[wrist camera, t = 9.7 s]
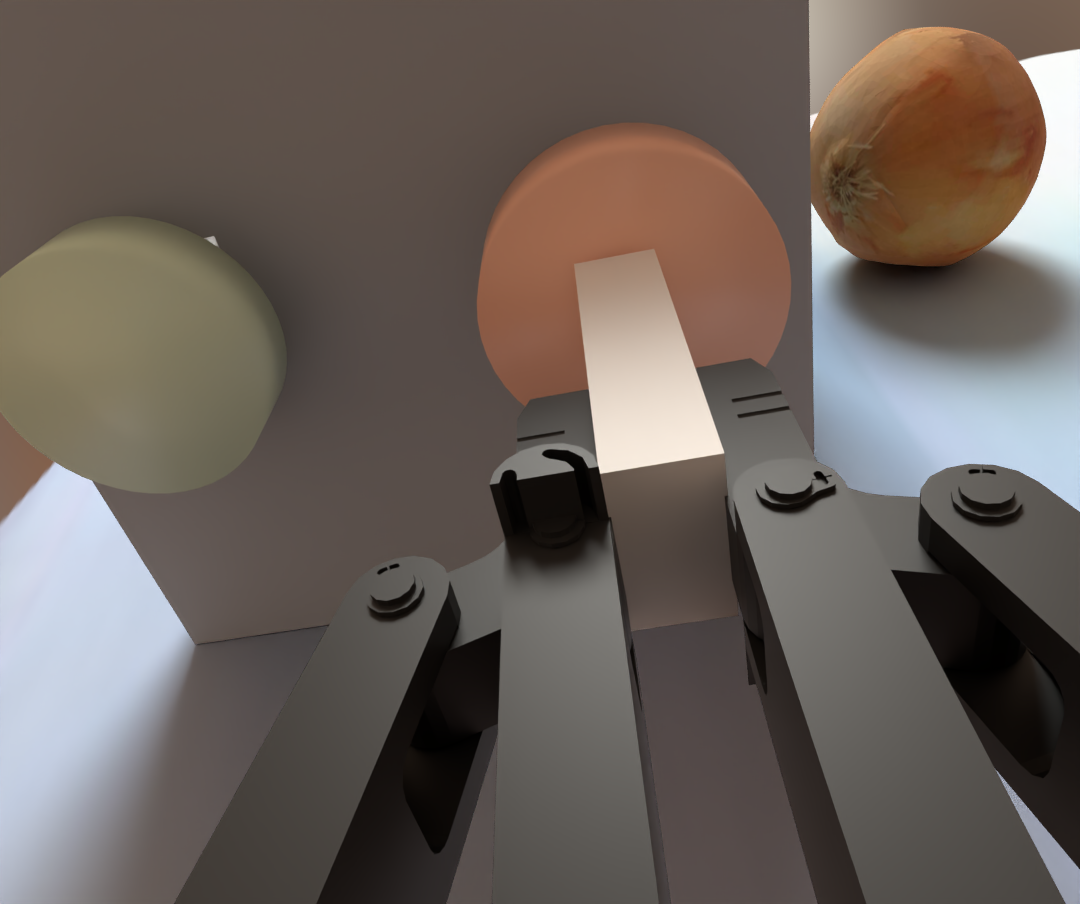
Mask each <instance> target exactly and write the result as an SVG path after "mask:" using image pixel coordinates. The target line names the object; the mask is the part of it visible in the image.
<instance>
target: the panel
mask: <svg viewBox="0 0 1080 904" xmlns="http://www.w3.org/2000/svg"><path fill="white" fill-rule="evenodd" d="M809 78H810V77H809V0H0V278H1V277H2V276H3V275H4V274H5V273H6V272H8V271H9V270H10V269H12V268H13V267H14V266H16V265H17V264H18V263H20V262H21V261H22V260H24V259H25V258H26V257H28V256H29V255H31V254H32V253H33V252H35V251H36V250H37V249H39V248H40V247H41V246H43V245H44V244H45V243H47V242H48V241H49V240H51V239H52V238H54V237H55V236H56V235H58V234H59V233H61V232H62V231H64V230H65V229H68V228H70V227H72V226H74V225H76V224H78V223H81V222H85V221H88V220H92V219H96V218H103V217H110V216H133V217H141V218H149V219H153V220H158V221H162V222H166V223H169V224H172V225H175V226H178V227H180V228H183V229H186V230H188V231H190V232H192V233H194V234H196V235H198V236H200V237H202V238H207V237H212V236H214V237H215V239H216V241H217V244H218V246H219V248H220V249H222V250H223V251H224V252H225V253H227V254H228V255H229V256H230V257H232V258H233V259H234V260H236V261H237V262H238V263H239V264H240V265H241V266H242V267H243V268H244V269H245V270H246V271H247V272H248V273H249V274H250V275H251V276H252V278H253V279H254V280H255V281H256V282H257V284H258V285H259V286H260V287H261V289H262V290H263V292H264V293H265V295H266V296H267V298H268V299H269V301H270V302H271V304H272V306H273V308H274V310H275V312H276V315H277V317H278V319H279V322H280V325H281V328H282V331H283V334H284V339H285V344H286V351H287V368H286V377H285V380H284V384H283V388H282V391H281V393H280V395H279V397H278V399H277V401H276V403H275V405H274V407H273V409H272V411H271V413H270V415H269V418H268V420H267V422H266V424H265V426H264V428H263V430H262V432H261V434H260V436H259V438H258V440H257V442H256V444H255V446H254V447H253V449H252V450H251V452H250V453H249V455H248V456H247V458H246V459H245V460H244V461H243V462H242V463H241V464H240V465H239V466H238V467H237V468H236V469H234V470H233V471H232V472H230V473H229V474H228V475H226V476H225V477H223V478H221V479H219V480H217V481H216V482H214V483H211V484H209V485H206V486H203V487H201V488H197V489H193V490H189V491H184V492H176V493H141V492H132V491H127V490H122V489H117V488H114V487H110V486H107V485H103V484H100V483H97V482H95V481H93V483H94V484H95V486H96V487H97V489H98V491H99V492H100V494H101V495H102V497H103V499H104V500H105V502H106V503H107V505H108V507H109V508H110V510H111V511H112V513H113V514H114V516H115V518H116V519H117V521H118V522H119V524H120V526H121V527H122V529H123V530H124V532H125V533H126V535H127V537H128V538H129V540H130V541H131V543H132V545H133V546H134V548H135V549H136V551H137V553H138V554H139V556H140V557H141V559H142V560H143V562H144V564H145V565H146V567H147V568H148V570H149V572H150V573H151V575H152V576H153V578H154V579H155V581H156V583H157V584H158V586H159V587H160V589H161V591H162V592H163V594H164V595H165V597H166V599H167V600H168V602H169V603H170V605H171V606H172V608H173V610H174V611H175V613H176V614H177V616H178V618H179V619H180V621H181V622H182V624H183V626H184V627H185V629H186V630H187V632H188V633H189V635H190V637H191V638H192V640H193V641H194V643H195V644H201V643H208V642H215V641H222V640H229V639H235V638H242V637H249V636H256V635H262V634H269V633H276V632H283V631H290V630H296V629H303V628H310V627H317V626H323V625H329V624H330V622H331V620H332V619H333V617H334V615H335V613H336V611H337V610H338V608H339V606H340V604H341V602H342V601H343V599H344V597H345V595H346V593H347V592H348V591H349V589H350V588H351V587H352V586H353V584H354V583H355V582H356V581H357V579H358V578H359V577H361V576H362V575H364V574H365V573H366V572H368V571H369V570H371V569H372V568H374V567H375V566H377V565H380V564H382V563H385V562H387V561H390V560H392V559H395V558H402V557H409V556H419V557H425V558H430V559H433V560H434V561H436V562H437V563H439V564H440V565H442V566H443V567H444V568H445V570H446V572H447V573H448V572H451V571H453V570H456V569H458V568H461V567H463V566H466V565H468V564H471V563H473V562H475V561H477V560H479V559H481V558H483V557H485V556H487V555H488V554H489V553H491V552H492V551H493V550H495V549H496V548H497V547H499V546H500V544H501V543H502V542H503V541H504V534H503V530H502V527H501V523H500V520H499V516H498V513H497V510H496V506H495V503H494V499H493V496H492V492H491V489H490V486H489V484H490V481H491V479H492V476H493V473H494V471H495V470H496V469H497V468H498V467H499V466H500V465H501V464H502V463H503V462H504V461H505V460H506V459H508V458H509V457H511V456H513V455H515V454H516V453H517V418H518V417H519V415H520V414H521V412H522V411H523V409H524V408H525V406H524V405H523V404H522V403H520V402H519V401H518V400H517V399H516V398H515V397H514V396H513V395H512V394H511V393H510V391H509V390H508V389H507V388H506V387H505V386H504V384H503V383H502V381H501V380H500V378H499V377H498V376H497V374H496V373H495V371H494V369H493V367H492V365H491V363H490V361H489V359H488V357H487V355H486V352H485V349H484V346H483V343H482V340H481V336H480V331H479V325H478V318H477V294H478V284H479V276H480V269H481V262H482V255H483V248H484V242H485V238H486V234H487V230H488V226H489V223H490V221H491V218H492V216H493V213H494V210H495V208H496V206H497V205H498V203H499V201H500V199H501V197H502V195H503V194H504V192H505V191H506V189H507V188H508V187H509V185H510V184H511V183H512V181H513V180H514V178H515V177H516V176H517V175H518V174H519V173H520V172H521V171H522V170H523V169H524V168H525V167H526V166H527V165H528V164H529V163H530V162H531V161H532V160H533V159H535V158H536V157H537V156H538V155H540V154H541V153H542V152H543V151H545V150H546V149H548V148H549V147H551V146H553V145H554V144H556V143H558V142H559V141H561V140H563V139H565V138H567V137H570V136H572V135H574V134H577V133H579V132H581V131H584V130H588V129H591V128H595V127H599V126H602V125H610V124H617V123H649V124H656V125H663V126H667V127H670V128H674V129H677V130H681V131H684V132H686V133H688V134H690V135H693V136H695V137H697V138H699V139H701V140H703V141H704V142H706V143H707V144H709V145H711V146H712V147H714V148H715V149H717V150H718V151H719V152H720V153H721V154H722V155H724V156H725V157H726V158H727V159H728V160H729V161H731V162H732V164H733V165H734V166H735V167H736V168H737V170H738V171H739V172H740V173H741V174H742V175H743V177H744V178H745V180H746V181H747V182H748V184H749V185H750V187H751V188H752V189H753V191H754V192H755V194H756V195H757V197H758V198H759V199H760V201H761V202H762V204H763V205H764V206H765V208H766V209H767V211H768V213H769V214H770V216H771V217H772V219H773V221H774V222H775V224H776V225H777V228H778V230H779V232H780V235H781V237H782V239H783V242H784V244H785V248H786V252H787V256H788V260H789V264H790V274H791V301H790V307H789V312H788V317H787V322H786V325H785V328H784V331H783V334H782V337H781V339H780V341H779V344H778V346H777V348H776V350H775V352H774V354H773V356H772V357H771V359H770V361H769V362H768V364H767V365H766V367H765V368H767V369H769V370H770V371H772V372H773V374H774V376H775V378H776V380H777V382H778V384H779V386H780V388H781V390H782V394H784V396H785V398H786V400H787V402H788V404H789V408H790V410H792V412H793V414H794V416H795V418H796V421H797V423H798V425H799V427H800V429H801V431H802V433H803V435H804V437H805V439H806V441H807V443H808V445H809V447H810V449H811V451H812V453H813V455H814V416H813V331H812V246H811V161H810V84H809V83H810V79H809Z"/></svg>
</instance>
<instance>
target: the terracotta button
mask: <svg viewBox="0 0 1080 904" xmlns="http://www.w3.org/2000/svg"><path fill="white" fill-rule="evenodd" d="M650 249H654V250H655V253H656V255H657V258H658V261H659V264H660V267H661V270H662V273H663V276H664V279H665V282H666V285H667V287H668V290H669V293H670V296H671V299H672V302H673V305H674V308H675V311H676V314H677V317H678V319H679V322H680V325H681V328H682V331H683V334H684V337H685V340H686V343H687V346H688V349H689V351H690V354H691V357H692V360H693V363H694V366H695V368H697V367H703V366H709V365H714V364H720V363H726V362H731V361H737V360H742V359H748V358H751V359H753V360H755V361H756V362H758V363H759V364H761V365H762V366H764V367H766V365H767V364H768V362H769V361H770V359H771V357H772V356H773V354H774V352H775V350H776V348H777V346H778V344H779V341H780V339H781V337H782V334H783V331H784V328H785V325H786V322H787V317H788V312H789V307H790V301H791V274H790V264H789V260H788V256H787V252H786V248H785V244H784V242H783V239H782V237H781V235H780V232H779V230H778V228H777V225H776V224H775V222H774V221H773V219H772V217H771V216H770V214H769V213H768V211H767V209H766V208H765V206H764V205H763V204H762V202H761V201H760V199H759V198H758V197H757V195H756V194H755V192H754V191H753V189H752V188H751V187H750V185H749V184H748V182H747V181H746V180H745V178H744V177H743V175H742V174H741V173H740V172H739V171H738V170H737V168H736V167H735V166H734V165H733V164H732V162H731V161H729V160H728V159H727V158H726V157H725V156H724V155H722V154H721V153H720V152H719V151H718V150H717V149H715V148H714V147H712V146H711V145H709V144H707V143H706V142H704V141H703V140H701V139H699V138H697V137H695V136H693V135H690V134H688V133H686V132H684V131H681V130H677V129H674V128H670V127H667V126H663V125H656V124H649V123H617V124H610V125H602V126H599V127H595V128H591V129H588V130H584V131H581V132H579V133H577V134H574V135H572V136H570V137H567V138H565V139H563V140H561V141H559V142H558V143H556V144H554V145H553V146H551V147H549V148H548V149H546V150H545V151H543V152H542V153H541V154H540V155H538V156H537V157H536V158H535V159H533V160H532V161H531V162H530V163H529V164H528V165H527V166H526V167H525V168H524V169H523V170H522V171H521V172H520V173H519V174H518V175H517V176H516V177H515V178H514V180H513V181H512V183H511V184H510V185H509V187H508V188H507V189H506V191H505V192H504V194H503V195H502V197H501V199H500V201H499V203H498V205H497V206H496V208H495V210H494V213H493V216H492V218H491V221H490V223H489V226H488V230H487V234H486V238H485V242H484V248H483V255H482V262H481V269H480V276H479V284H478V294H477V318H478V325H479V331H480V336H481V340H482V343H483V346H484V349H485V352H486V355H487V357H488V359H489V361H490V363H491V365H492V367H493V369H494V371H495V373H496V374H497V376H498V377H499V378H500V380H501V381H502V383H503V384H504V386H505V387H506V388H507V389H508V390H509V391H510V393H511V394H512V395H513V396H514V397H515V398H516V399H517V400H518V401H519V402H520V403H522V404H523V405H524V406H526V405H527V403H528V402H529V400H530V399H535V398H540V397H546V396H552V395H557V394H563V393H569V392H574V391H580V390H586V389H589V386H588V378H587V369H586V361H585V352H584V344H583V336H582V327H581V319H580V310H579V302H578V294H577V285H576V277H575V268H574V264H577V263H582V262H587V261H592V260H598V259H603V258H608V257H613V256H618V255H624V254H629V253H634V252H639V251H644V250H650Z"/></svg>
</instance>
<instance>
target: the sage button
mask: <svg viewBox="0 0 1080 904" xmlns="http://www.w3.org/2000/svg"><path fill="white" fill-rule="evenodd" d="M286 368H287V351H286V344H285V339H284V334H283V331H282V328H281V325H280V322H279V319H278V317H277V315H276V312H275V310H274V308H273V306H272V304H271V302H270V301H269V299H268V298H267V296H266V295H265V293H264V292H263V290H262V289H261V287H260V286H259V285H258V284H257V282H256V281H255V280H254V279H253V278H252V276H251V275H250V274H249V273H248V272H247V271H246V270H245V269H244V268H243V267H242V266H241V265H240V264H239V263H238V262H237V261H236V260H234V259H233V258H232V257H230V256H229V255H228V254H227V253H225V252H224V251H223V250H222V249H220V248H219V246H218V244H217V241H216V239H215V237H214V236H212V237H207V238H202V237H200V236H198V235H196V234H194V233H192V232H190V231H188V230H186V229H183V228H180V227H178V226H175V225H172V224H169V223H166V222H162V221H158V220H153V219H149V218H141V217H133V216H110V217H103V218H96V219H92V220H88V221H85V222H81V223H78V224H76V225H74V226H72V227H70V228H68V229H65V230H64V231H62V232H61V233H59V234H58V235H56V236H55V237H54V238H52V239H51V240H49V241H48V242H47V243H45V244H44V245H43V246H41V247H40V248H39V249H37V250H36V251H35V252H33V253H32V254H31V255H29V256H28V257H26V258H25V259H24V260H22V261H21V262H20V263H18V264H17V265H16V266H14V267H13V268H12V269H10V270H9V271H8V272H6V273H5V274H4V275H3V276H2V277H1V278H0V412H1V413H2V414H3V416H4V417H5V418H6V420H7V421H8V422H9V423H10V424H11V425H12V427H14V429H15V430H16V431H17V432H18V433H19V434H20V435H21V436H22V437H23V438H24V439H25V440H27V441H28V442H29V443H30V444H31V445H32V446H33V447H34V448H36V449H37V450H39V451H40V452H41V453H43V454H44V455H45V456H47V457H48V458H49V459H51V460H53V461H54V462H56V463H57V464H59V465H61V466H62V467H64V468H66V469H68V470H70V471H72V472H74V473H76V474H78V475H80V476H82V477H84V478H87V479H89V480H92V481H95V482H97V483H100V484H103V485H107V486H110V487H114V488H117V489H122V490H127V491H132V492H141V493H176V492H184V491H189V490H193V489H197V488H201V487H203V486H206V485H209V484H211V483H214V482H216V481H217V480H219V479H221V478H223V477H225V476H226V475H228V474H229V473H230V472H232V471H233V470H234V469H236V468H237V467H238V466H239V465H240V464H241V463H242V462H243V461H244V460H245V459H246V458H247V456H248V455H249V453H250V452H251V450H252V449H253V447H254V446H255V444H256V442H257V440H258V438H259V436H260V434H261V432H262V430H263V428H264V426H265V424H266V422H267V420H268V418H269V415H270V413H271V411H272V409H273V407H274V405H275V403H276V401H277V399H278V397H279V395H280V393H281V391H282V388H283V384H284V380H285V377H286Z"/></svg>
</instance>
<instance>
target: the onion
mask: <svg viewBox="0 0 1080 904" xmlns="http://www.w3.org/2000/svg"><path fill="white" fill-rule="evenodd" d="M1045 146H1046V125H1045V119H1044V115H1043V111H1042V107H1041V104H1040V101H1039V98H1038V95H1037V93H1036V91H1035V88H1034V86H1033V84H1032V82H1031V80H1030V78H1029V76H1028V74H1027V73H1026V71H1025V70H1024V68H1023V67H1022V66H1021V64H1020V63H1019V62H1018V61H1017V59H1016V58H1015V57H1014V56H1013V54H1012V53H1011V52H1010V51H1009V50H1008V49H1007V48H1006V47H1005V46H1003V45H1002V44H1000V43H999V42H997V41H995V40H993V39H992V38H990V37H987V36H985V35H982V34H980V33H976V32H972V31H968V30H963V29H956V28H950V27H925V28H914V29H904V30H902V31H900V32H898V33H896V34H894V35H893V36H891V37H889V38H888V39H886V40H885V41H883V42H882V43H881V44H879V45H878V46H877V47H875V48H874V49H873V50H872V51H871V52H870V53H869V54H867V55H866V56H865V57H864V58H863V59H862V60H861V61H859V62H858V63H857V64H856V65H855V66H854V67H853V68H852V69H851V70H850V71H849V72H847V73H846V74H845V75H844V76H843V78H842V79H841V80H840V81H839V82H838V83H837V85H836V86H835V87H834V88H833V90H832V91H831V93H830V94H829V96H828V97H827V99H826V101H825V102H824V104H823V106H822V108H821V110H820V112H819V114H818V116H817V118H816V120H815V122H814V124H813V126H812V129H811V132H810V161H811V203H812V204H813V206H814V208H815V210H816V211H817V213H818V215H819V216H820V218H821V219H822V221H823V223H824V224H825V226H826V227H827V228H828V230H829V231H830V232H831V234H832V235H833V237H834V239H835V240H836V242H837V243H838V244H839V245H840V246H842V247H843V248H845V249H846V250H848V251H849V252H850V253H852V254H853V255H854V256H856V257H858V258H861V259H864V260H868V261H877V262H882V263H888V264H897V265H912V266H947V265H952V264H954V263H956V262H958V261H961V260H963V259H965V258H967V257H969V256H970V255H972V254H974V253H975V252H977V251H979V250H980V249H982V248H983V247H985V246H986V245H988V244H989V243H990V242H992V241H993V240H994V239H995V238H996V237H998V236H999V235H1000V234H1001V233H1002V232H1003V231H1004V230H1005V229H1006V227H1007V226H1008V225H1009V224H1010V223H1011V222H1012V220H1013V219H1014V218H1015V217H1016V215H1017V214H1018V212H1019V211H1020V209H1021V208H1022V207H1023V205H1024V204H1025V202H1026V200H1027V198H1028V196H1029V194H1030V192H1031V190H1032V188H1033V186H1034V184H1035V182H1036V179H1037V177H1038V174H1039V170H1040V167H1041V164H1042V160H1043V156H1044V151H1045Z"/></svg>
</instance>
